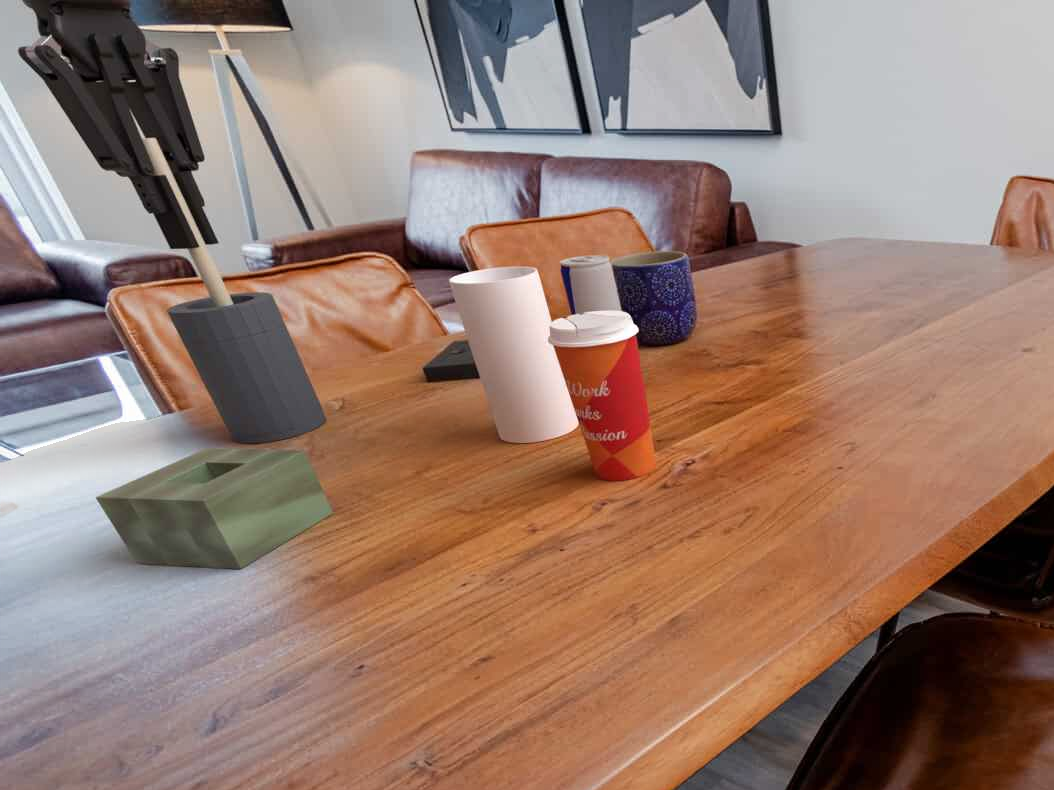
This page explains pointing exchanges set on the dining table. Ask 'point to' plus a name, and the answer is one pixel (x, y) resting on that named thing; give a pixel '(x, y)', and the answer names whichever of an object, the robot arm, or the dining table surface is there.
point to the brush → (201, 253)
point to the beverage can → (590, 284)
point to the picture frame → (452, 364)
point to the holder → (217, 507)
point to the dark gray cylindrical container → (249, 367)
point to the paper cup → (606, 390)
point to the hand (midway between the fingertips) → (194, 245)
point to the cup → (515, 352)
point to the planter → (657, 295)
